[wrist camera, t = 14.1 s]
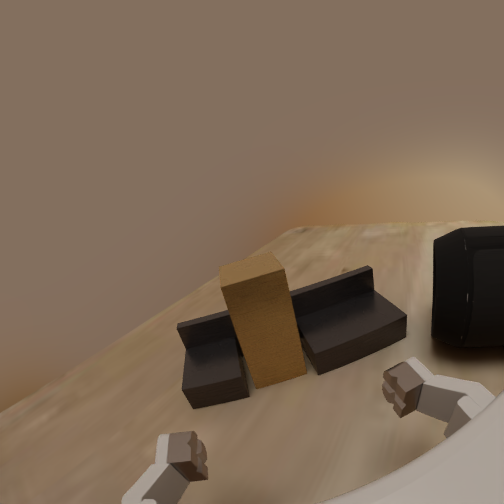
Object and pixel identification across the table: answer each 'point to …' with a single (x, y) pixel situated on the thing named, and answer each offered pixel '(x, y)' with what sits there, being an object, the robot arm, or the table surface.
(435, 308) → the portable speaker
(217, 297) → the table surface
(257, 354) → the wooden block
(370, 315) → the rail
